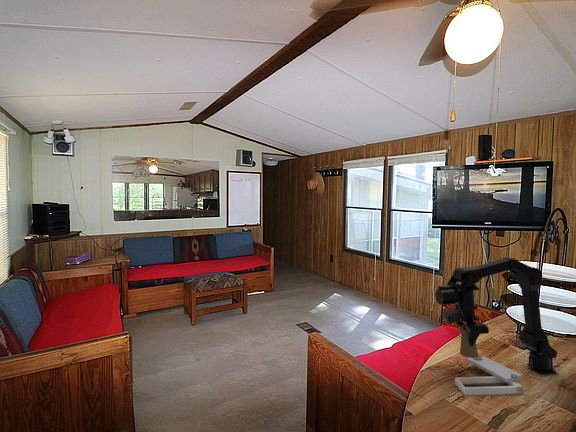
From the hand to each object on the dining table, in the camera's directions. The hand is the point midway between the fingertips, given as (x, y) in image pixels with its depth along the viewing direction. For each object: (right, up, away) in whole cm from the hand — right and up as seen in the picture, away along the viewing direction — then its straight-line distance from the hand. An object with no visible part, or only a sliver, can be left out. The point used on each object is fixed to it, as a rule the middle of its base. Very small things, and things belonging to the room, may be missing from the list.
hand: (468, 343), depth 119 cm
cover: (+9, -9, -1) cm, 13 cm away
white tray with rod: (+2, -13, -8) cm, 15 cm away
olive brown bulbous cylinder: (0, -4, 0) cm, 4 cm away
